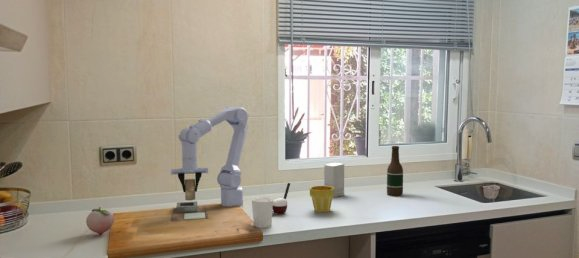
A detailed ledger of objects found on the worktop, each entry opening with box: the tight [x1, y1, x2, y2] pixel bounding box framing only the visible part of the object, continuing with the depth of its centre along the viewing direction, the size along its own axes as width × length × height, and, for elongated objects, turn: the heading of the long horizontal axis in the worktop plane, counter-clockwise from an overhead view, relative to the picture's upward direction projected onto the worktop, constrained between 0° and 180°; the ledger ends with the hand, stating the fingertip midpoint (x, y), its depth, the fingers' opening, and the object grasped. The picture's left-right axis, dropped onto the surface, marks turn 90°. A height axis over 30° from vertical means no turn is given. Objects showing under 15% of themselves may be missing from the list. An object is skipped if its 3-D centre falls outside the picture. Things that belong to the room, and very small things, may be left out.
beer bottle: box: [386, 145, 404, 198], centre depth 219 cm, size 8×8×24 cm
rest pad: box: [184, 212, 205, 221], centre depth 178 cm, size 8×8×1 cm
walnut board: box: [170, 205, 209, 222], centre depth 183 cm, size 14×21×2 cm, turn 12°
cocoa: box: [272, 182, 291, 215], centre depth 187 cm, size 10×6×12 cm, turn 102°
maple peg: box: [184, 178, 196, 201], centre depth 182 cm, size 4×4×8 cm
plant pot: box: [309, 185, 334, 213], centre depth 191 cm, size 10×10×10 cm
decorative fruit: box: [85, 206, 115, 235], centre depth 159 cm, size 9×8×10 cm
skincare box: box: [323, 162, 345, 199], centre depth 219 cm, size 8×7×16 cm
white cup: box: [251, 196, 274, 229], centre depth 170 cm, size 8×8×10 cm
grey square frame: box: [175, 200, 198, 213], centre depth 187 cm, size 8×8×2 cm
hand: (190, 191), depth 182 cm, fingers closed on maple peg, 4 cm apart
